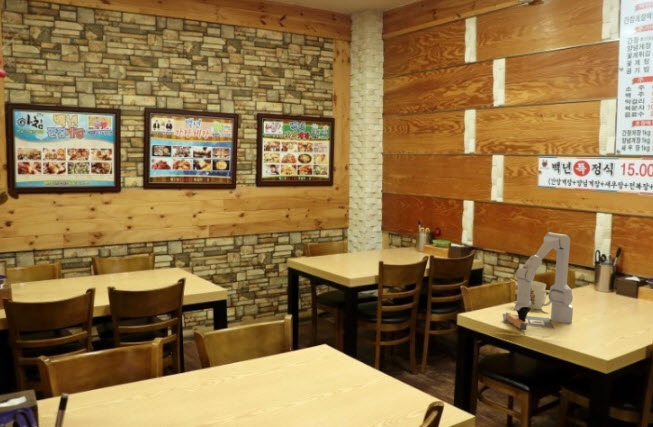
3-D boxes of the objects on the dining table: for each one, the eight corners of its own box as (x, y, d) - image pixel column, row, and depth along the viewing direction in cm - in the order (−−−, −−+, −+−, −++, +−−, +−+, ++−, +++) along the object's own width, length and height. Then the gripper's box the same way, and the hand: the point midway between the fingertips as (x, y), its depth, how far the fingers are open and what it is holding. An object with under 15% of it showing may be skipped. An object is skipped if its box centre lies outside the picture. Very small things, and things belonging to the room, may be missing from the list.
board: (549, 320, 278) (549, 310, 277) (554, 330, 260) (554, 320, 260) (502, 315, 283) (502, 306, 283) (504, 325, 266) (504, 315, 265)
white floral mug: (544, 313, 289) (546, 287, 288) (514, 305, 304) (516, 280, 303) (557, 311, 296) (559, 285, 294) (527, 303, 310) (529, 278, 309)
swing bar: (507, 319, 269) (507, 314, 268) (512, 319, 269) (512, 314, 269) (521, 330, 252) (522, 324, 252) (527, 330, 252) (527, 324, 252)
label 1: (527, 320, 272) (527, 319, 272) (528, 324, 266) (528, 322, 266) (514, 319, 273) (514, 317, 273) (514, 322, 267) (515, 321, 267)
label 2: (542, 322, 270) (542, 320, 270) (544, 325, 264) (544, 324, 264) (529, 320, 271) (529, 319, 271) (530, 324, 266) (530, 322, 266)
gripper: (521, 289, 268) (519, 317, 270) (508, 294, 257) (506, 323, 259) (536, 292, 264) (534, 320, 265) (524, 297, 253) (522, 327, 254)
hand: (521, 322), depth 261 cm, fingers closed
